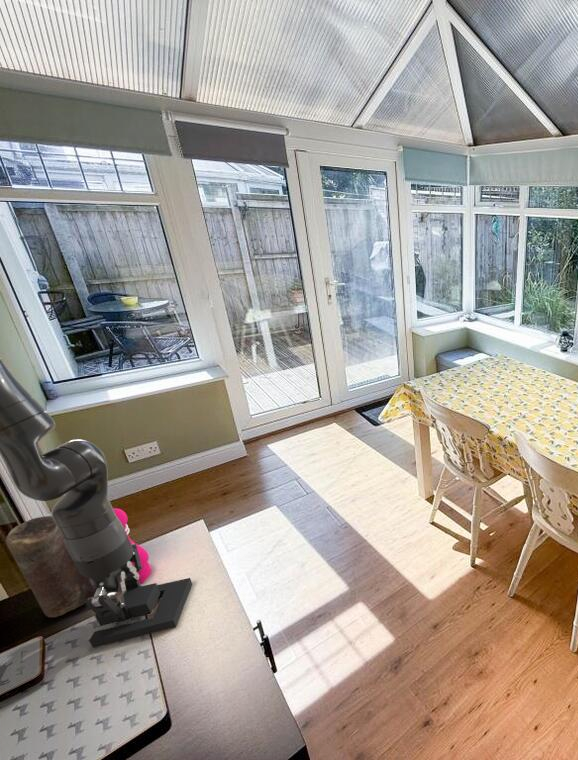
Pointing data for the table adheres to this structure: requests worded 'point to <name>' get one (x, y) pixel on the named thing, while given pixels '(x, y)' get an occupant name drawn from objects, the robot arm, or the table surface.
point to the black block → (136, 602)
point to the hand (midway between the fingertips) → (130, 607)
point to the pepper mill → (142, 552)
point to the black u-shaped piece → (162, 619)
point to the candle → (48, 566)
